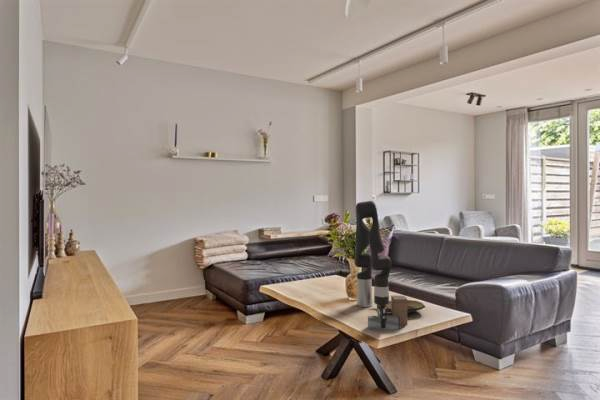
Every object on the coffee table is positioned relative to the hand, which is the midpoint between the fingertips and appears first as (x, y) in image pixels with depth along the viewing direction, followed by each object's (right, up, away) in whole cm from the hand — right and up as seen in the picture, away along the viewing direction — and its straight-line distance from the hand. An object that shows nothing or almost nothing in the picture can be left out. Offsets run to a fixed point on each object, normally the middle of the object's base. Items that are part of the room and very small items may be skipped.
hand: (381, 325), depth 207 cm
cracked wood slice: (+18, -1, +30) cm, 35 cm away
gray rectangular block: (+1, -2, 0) cm, 2 cm away
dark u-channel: (+9, -1, +8) cm, 12 cm away
